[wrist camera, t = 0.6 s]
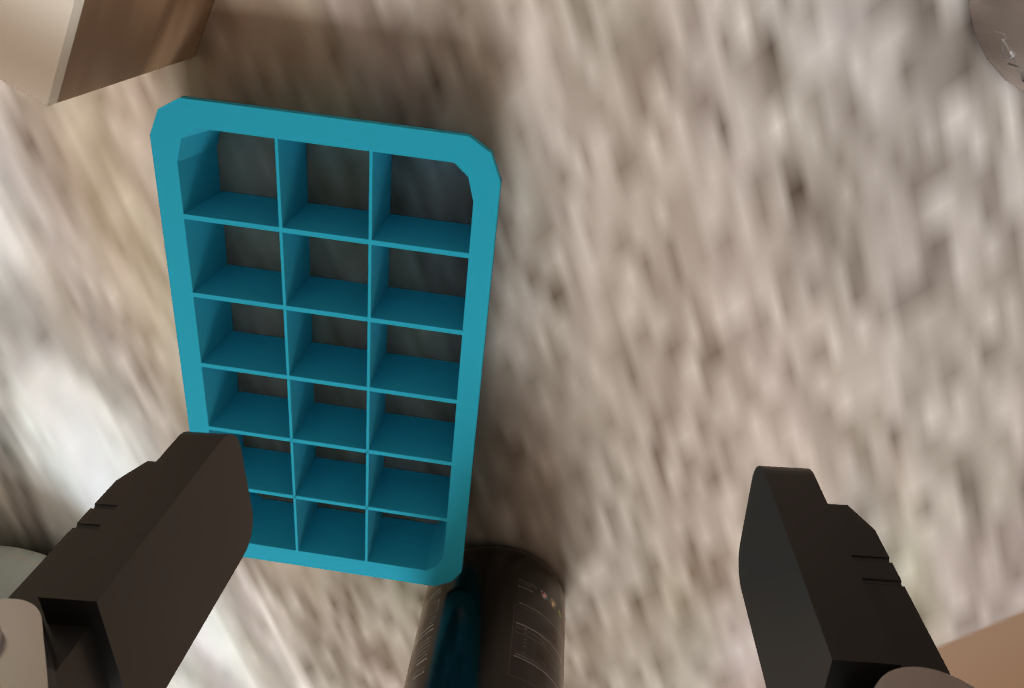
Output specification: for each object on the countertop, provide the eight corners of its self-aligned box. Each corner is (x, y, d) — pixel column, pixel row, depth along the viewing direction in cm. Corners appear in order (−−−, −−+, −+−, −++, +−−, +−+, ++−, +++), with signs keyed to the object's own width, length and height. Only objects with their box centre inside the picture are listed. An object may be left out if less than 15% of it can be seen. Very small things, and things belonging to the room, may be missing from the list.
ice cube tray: (233, 506, 37) (206, 551, 34) (188, 76, 27) (144, 93, 24) (469, 542, 36) (459, 590, 34) (514, 119, 26) (504, 141, 24)
